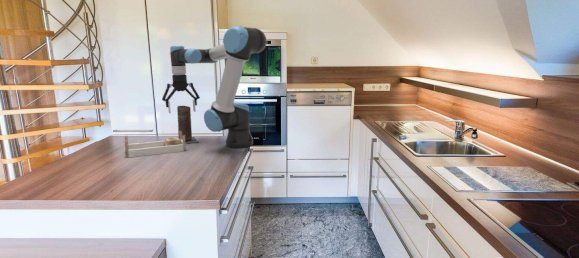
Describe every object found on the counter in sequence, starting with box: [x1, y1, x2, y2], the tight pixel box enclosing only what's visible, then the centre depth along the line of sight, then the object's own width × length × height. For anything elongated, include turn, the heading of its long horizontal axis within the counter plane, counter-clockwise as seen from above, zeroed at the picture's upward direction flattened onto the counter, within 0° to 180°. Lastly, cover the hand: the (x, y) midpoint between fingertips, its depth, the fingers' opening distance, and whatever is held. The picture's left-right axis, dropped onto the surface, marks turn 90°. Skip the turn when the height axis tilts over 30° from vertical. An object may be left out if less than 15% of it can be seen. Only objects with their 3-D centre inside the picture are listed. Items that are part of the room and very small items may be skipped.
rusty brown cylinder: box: [177, 105, 193, 141], centre depth 189 cm, size 8×7×20 cm
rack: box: [124, 131, 187, 158], centre depth 170 cm, size 28×13×8 cm, turn 116°
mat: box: [177, 136, 199, 145], centre depth 190 cm, size 14×14×1 cm
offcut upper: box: [164, 136, 180, 146], centre depth 173 cm, size 6×7×3 cm
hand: (182, 112), depth 187 cm, fingers open, 13 cm apart
